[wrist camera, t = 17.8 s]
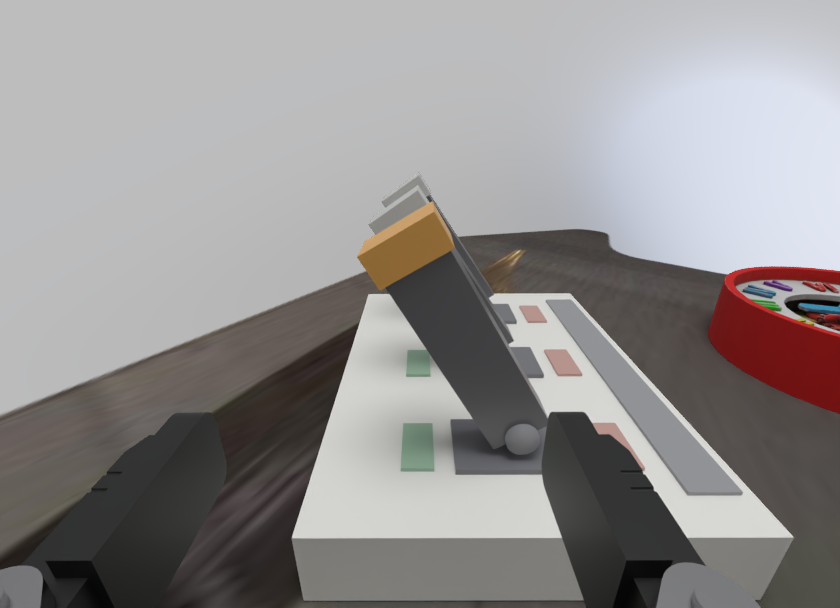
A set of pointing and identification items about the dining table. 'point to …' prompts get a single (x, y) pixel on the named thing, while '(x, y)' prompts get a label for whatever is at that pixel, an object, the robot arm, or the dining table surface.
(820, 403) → the toy clock
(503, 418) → the lever
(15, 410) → the dining table surface
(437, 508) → the panel
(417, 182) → the lever
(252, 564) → the dining table surface
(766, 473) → the dining table surface
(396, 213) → the breaker mid
